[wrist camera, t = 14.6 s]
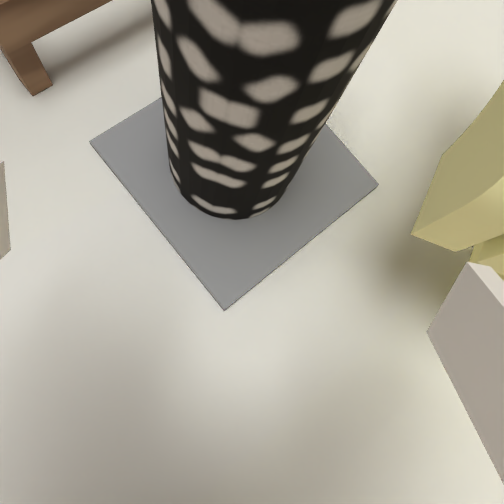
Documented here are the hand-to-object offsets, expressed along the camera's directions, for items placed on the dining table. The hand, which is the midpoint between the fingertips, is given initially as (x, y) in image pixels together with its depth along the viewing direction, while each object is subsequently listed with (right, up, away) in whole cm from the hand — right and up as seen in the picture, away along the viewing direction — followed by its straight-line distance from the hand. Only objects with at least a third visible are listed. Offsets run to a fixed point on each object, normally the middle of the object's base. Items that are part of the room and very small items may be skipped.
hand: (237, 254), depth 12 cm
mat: (0, +6, +17) cm, 18 cm away
